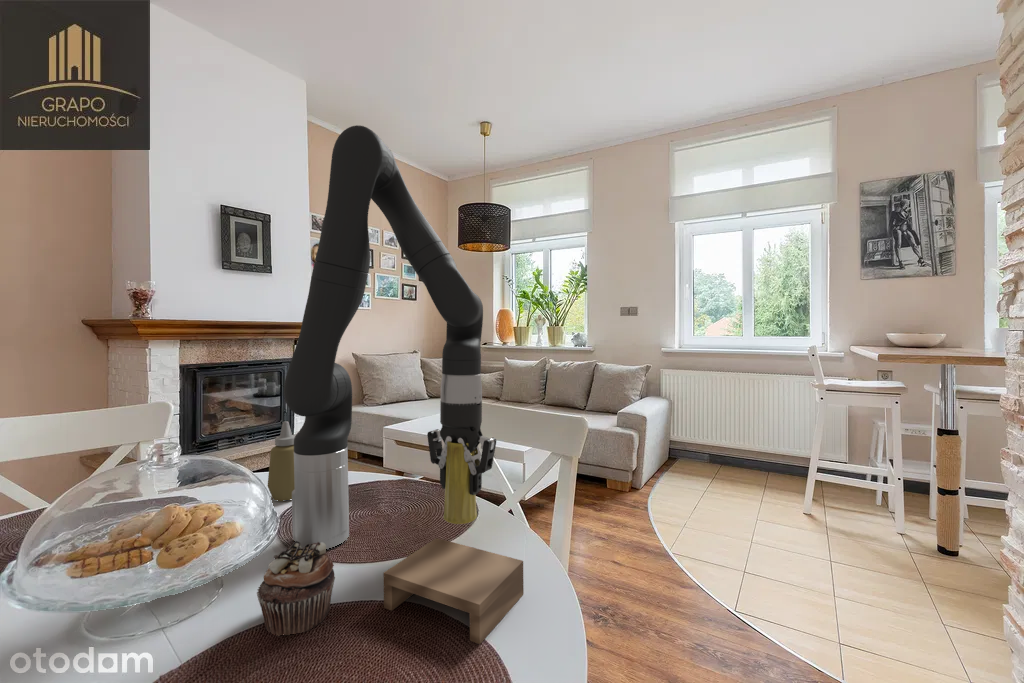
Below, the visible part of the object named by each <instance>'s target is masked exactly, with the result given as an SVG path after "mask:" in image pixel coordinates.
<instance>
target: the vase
mask: <svg viewBox="0 0 1024 683" xmlns="http://www.w3.org/2000/svg"><path fill="white" fill-rule="evenodd" d="M466 444H467V445H468V443H466ZM464 451H465V450H464V447H463V444H459V443H451V442H448V441H447V459H446V482H445V489H444V503H443V504H444V507H443V508H444V512H443V517H442V518H443V520H444V521H445V522H447V523H449V524H454V525H464V524H469V523H472V522H473V521H475V520H476V519H477V517H478V513H477V498H476V495H477V494H475V495H470V474H471V471H470V468H469V465H468V463H466V462H465V459H464ZM470 454H471V456H474V454H475V451H473V452H471V453H470Z"/></svg>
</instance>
